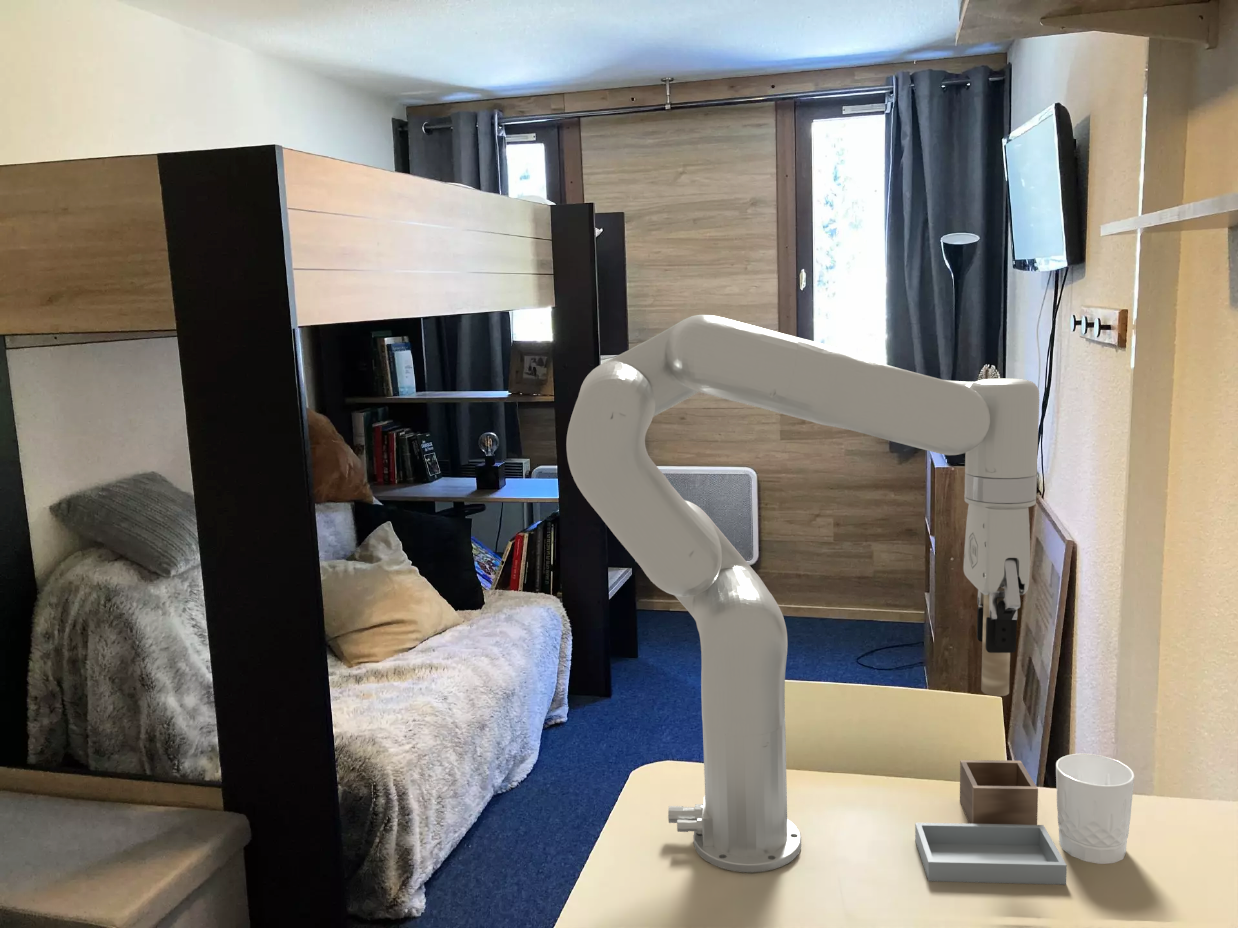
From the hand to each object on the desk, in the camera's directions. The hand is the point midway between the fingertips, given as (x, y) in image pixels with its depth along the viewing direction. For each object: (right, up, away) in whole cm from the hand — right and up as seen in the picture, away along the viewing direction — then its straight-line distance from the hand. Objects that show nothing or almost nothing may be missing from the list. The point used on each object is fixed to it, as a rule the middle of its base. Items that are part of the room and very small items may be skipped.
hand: (995, 644), depth 114 cm
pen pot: (+2, -22, +6) cm, 23 cm away
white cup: (+10, -23, -2) cm, 26 cm away
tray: (-2, -24, -4) cm, 24 cm away
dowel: (0, -6, +1) cm, 6 cm away
